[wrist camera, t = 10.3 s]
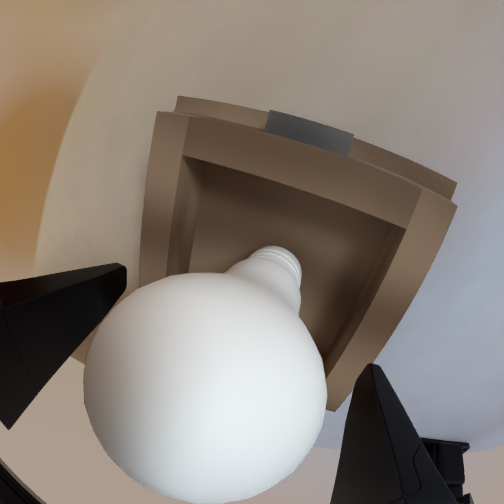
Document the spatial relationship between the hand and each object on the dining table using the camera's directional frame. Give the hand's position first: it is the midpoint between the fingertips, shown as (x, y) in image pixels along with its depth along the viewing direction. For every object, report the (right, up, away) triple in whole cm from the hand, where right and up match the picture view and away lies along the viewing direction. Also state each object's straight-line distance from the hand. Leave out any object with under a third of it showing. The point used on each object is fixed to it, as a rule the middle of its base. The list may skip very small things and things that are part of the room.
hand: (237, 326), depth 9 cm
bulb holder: (+2, +2, +5) cm, 6 cm away
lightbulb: (+2, +2, +5) cm, 5 cm away
